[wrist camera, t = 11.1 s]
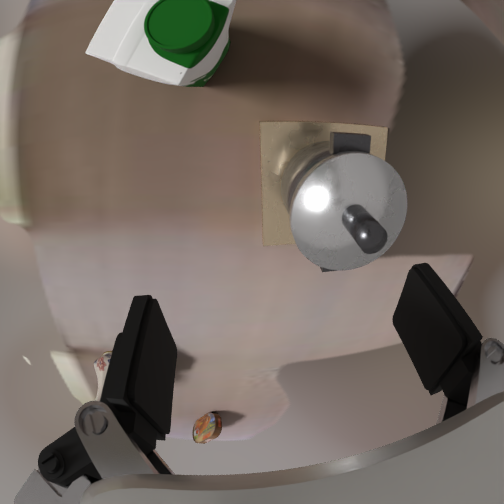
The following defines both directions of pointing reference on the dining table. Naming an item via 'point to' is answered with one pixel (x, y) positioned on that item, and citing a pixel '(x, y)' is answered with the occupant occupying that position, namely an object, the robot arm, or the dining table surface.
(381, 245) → the lid
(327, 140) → the pot
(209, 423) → the tin
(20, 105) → the dining table surface
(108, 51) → the soya milk
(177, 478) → the robot arm
